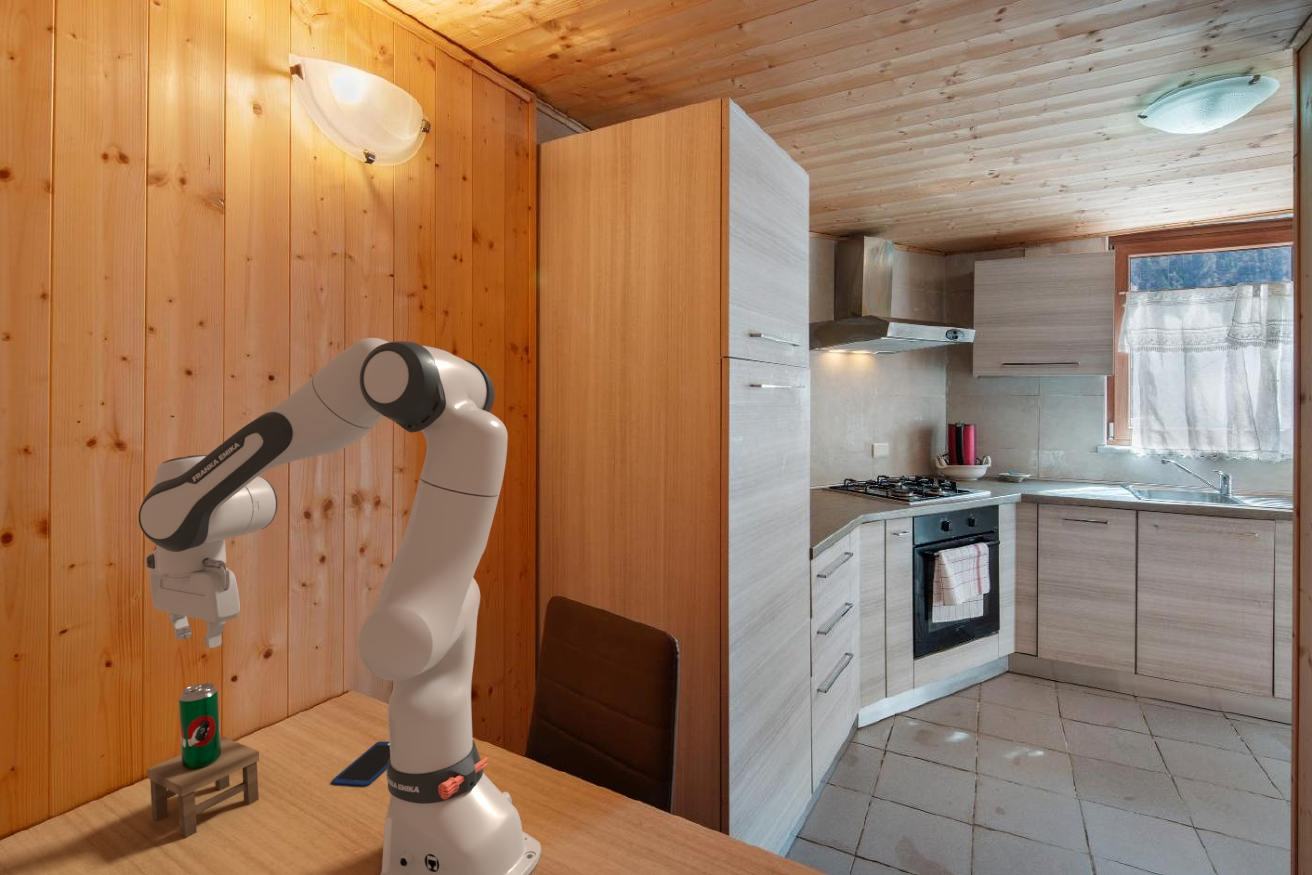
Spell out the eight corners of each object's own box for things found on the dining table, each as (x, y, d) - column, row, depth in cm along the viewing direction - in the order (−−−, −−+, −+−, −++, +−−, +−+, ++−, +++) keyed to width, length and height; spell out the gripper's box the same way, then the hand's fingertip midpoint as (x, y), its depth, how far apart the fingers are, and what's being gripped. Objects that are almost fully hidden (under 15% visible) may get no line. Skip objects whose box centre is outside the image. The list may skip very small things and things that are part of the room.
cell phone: (413, 746, 118) (413, 742, 118) (367, 789, 104) (367, 784, 104) (378, 744, 119) (378, 740, 119) (328, 786, 105) (328, 782, 105)
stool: (261, 798, 102) (258, 751, 102) (184, 839, 92) (181, 786, 92) (225, 782, 107) (223, 736, 107) (149, 818, 98) (147, 768, 97)
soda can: (229, 754, 101) (225, 682, 101) (200, 772, 96) (196, 696, 96) (203, 752, 102) (199, 680, 101) (173, 769, 97) (169, 694, 97)
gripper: (248, 556, 96) (254, 644, 97) (184, 549, 106) (189, 628, 107) (203, 565, 91) (209, 658, 91) (139, 557, 101) (145, 640, 101)
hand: (198, 642), depth 99 cm, fingers open, 8 cm apart
